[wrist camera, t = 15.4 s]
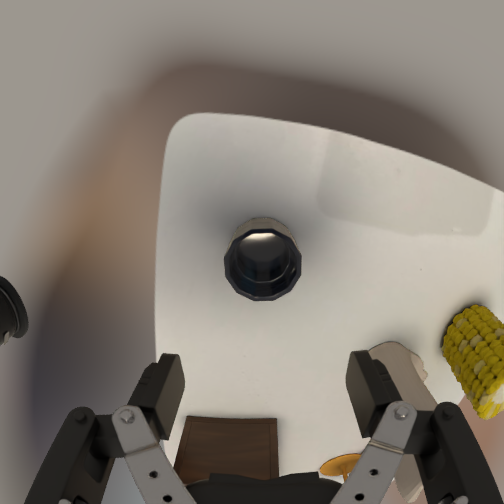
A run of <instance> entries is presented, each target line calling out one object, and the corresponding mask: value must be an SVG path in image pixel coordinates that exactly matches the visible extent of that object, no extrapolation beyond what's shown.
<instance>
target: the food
mask: <svg viewBox="0 0 504 504" xmlns="http://www.w3.org/2000/svg"><path fill="white" fill-rule="evenodd" d="M441 349H442V351H443V356H444V357H445V358H446V360H447V362H448V364H449V365H450V366H451V370H452V372H454V375H455V376H456V379H457V382H460V383H461V386H462V390H464V393H466V394H467V399H468V400H470V401H471V403H472V405H473V409H474V410H475V411H477V415H478V416H479V417H480V418H483V419H484V420H487V419H489V418H492V417H494V416H496V415H497V413H498V412H501V411H503V410H504V324H502V322H501V321H500V320H498V318H497V317H495V315H494V314H493V313H492V312H490V310H489V309H487V308H486V307H483V306H480V307H479V306H478V305H476V304H475V305H473V306H470V309H468V308H465V309H464V311H463V312H462V313H461V314H458V315H456V316H455V317H454V319H453V324H451V325H450V326H448V330H447V334H446V335H445V336H444V344H443V346H442V348H441Z"/></svg>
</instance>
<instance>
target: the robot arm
mask: <svg viewBox="0 0 504 504" xmlns="http://www.w3.org/2000/svg"><path fill="white" fill-rule="evenodd" d="M19 329H20V317H19V314H18V311H17V308H16V306H15V304H14V302H13V300H12V299H11V297H10V296H9V294H8V293H7V292H6V291H5V290H4V289H3V288H2V287H1V286H0V346H1V345H2V344H3V343H4V344H6V343H7V342H8V340H9V338H10V337H11V336H12V335H13V334H15V333H17V332H18V331H19ZM346 387H347V391H348V394H349V397H350V400H351V403H352V406H353V409H354V413H355V416H356V419H357V422H358V425H359V429H360V432H361V435H362V438H367V437H370V438H371V440H370V441H369V443H368V444H367V446H366V448H365V450H364V451H363V453H362V455H361V456H360V458H359V460H358V461H357V463H356V465H355V466H354V468H353V470H352V471H351V473H350V474H349V476H348V477H347V479H346V480H345V482H344V483H343V484H341V483H339V482H336V481H333V480H330V479H325V478H319V473H318V472H308V473H295V474H289V475H285V476H281V477H277V478H273V479H268V480H259V479H255V478H250V477H246V476H241V475H237V474H222V473H210V476H209V479H204V480H199V481H196V482H193V483H191V484H188V485H186V486H184V484H183V483H182V481H181V480H180V478H179V476H178V475H177V473H176V472H175V470H174V468H173V467H172V465H171V464H170V462H169V460H168V459H167V457H166V455H165V453H164V452H163V450H162V448H161V446H160V445H159V442H160V439H162V440H169V437H170V433H171V430H172V427H173V424H174V420H175V417H176V414H177V411H178V408H179V404H180V401H181V398H182V395H183V392H184V388H185V378H184V373H183V369H182V365H181V360H180V357H179V355H178V354H167V353H163V354H162V355H161V357H160V359H159V361H158V363H151V364H150V365H149V366H148V367H147V368H146V369H145V370H144V372H143V374H142V376H141V378H140V380H139V382H138V384H137V386H136V388H135V390H134V392H133V394H132V396H131V398H130V400H129V402H128V404H127V405H124V406H121V407H119V408H118V409H116V410H115V411H114V413H113V414H111V415H95V414H94V412H93V411H92V410H91V409H90V408H88V407H77V408H75V409H73V410H72V411H71V412H70V413H69V414H68V416H67V418H66V419H65V421H64V423H63V425H62V427H61V429H60V430H59V432H58V434H57V436H56V438H55V440H54V442H53V444H52V446H51V447H50V450H49V451H48V453H47V455H46V457H45V459H44V461H43V463H42V465H41V467H40V470H39V472H38V474H37V476H36V478H35V480H34V482H33V485H32V487H31V489H30V491H29V493H28V496H27V498H26V500H25V503H24V504H101V501H102V498H103V495H104V492H105V488H106V485H107V482H108V479H109V476H110V473H111V470H112V467H113V464H114V461H115V458H119V457H120V458H121V457H124V458H125V461H126V463H127V465H128V468H129V470H130V472H131V474H132V477H133V479H134V481H135V483H136V485H137V487H138V489H139V491H140V493H141V495H142V497H143V499H144V501H145V503H146V504H380V502H381V501H382V498H383V497H384V495H385V493H386V491H387V489H388V488H389V485H390V484H391V482H392V479H393V477H394V475H395V473H396V471H397V469H398V467H399V465H400V462H401V460H402V458H403V455H404V454H413V455H414V458H415V461H416V464H417V467H418V471H419V474H420V477H421V481H422V484H423V488H424V491H425V495H426V498H427V502H428V504H504V503H503V501H502V498H501V495H500V492H499V490H498V487H497V485H496V482H495V480H494V477H493V475H492V473H491V470H490V468H489V466H488V464H487V461H486V459H485V457H484V455H483V452H482V450H481V449H480V446H479V444H478V442H477V440H476V438H475V436H474V434H473V432H472V430H471V428H470V426H469V424H468V422H467V420H466V419H465V417H464V415H463V413H462V411H461V409H460V408H459V407H458V406H457V405H456V404H454V403H452V402H442V403H440V404H438V405H437V406H436V408H435V409H434V411H425V410H416V408H415V407H414V406H413V405H412V404H410V403H408V402H405V401H403V399H402V397H401V395H400V393H399V391H398V389H397V387H396V385H395V383H394V382H393V380H392V378H391V376H390V374H389V372H388V370H387V368H386V366H385V365H384V364H383V363H382V362H381V361H379V360H378V359H373V360H372V358H371V356H370V354H369V352H368V351H367V350H361V351H352V352H351V354H350V358H349V363H348V368H347V373H346Z"/></svg>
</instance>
